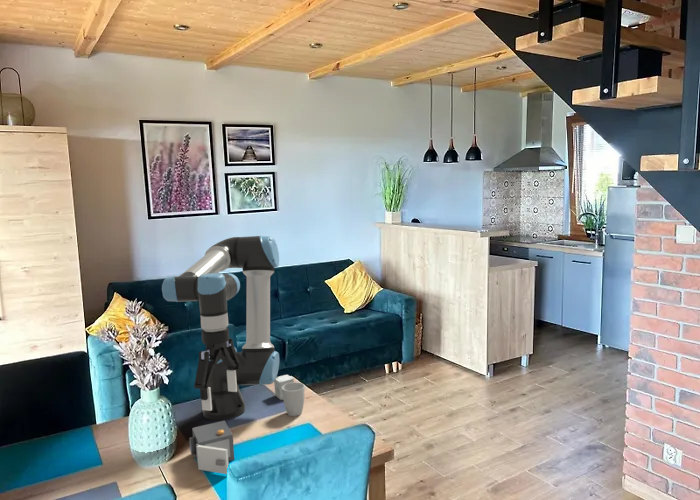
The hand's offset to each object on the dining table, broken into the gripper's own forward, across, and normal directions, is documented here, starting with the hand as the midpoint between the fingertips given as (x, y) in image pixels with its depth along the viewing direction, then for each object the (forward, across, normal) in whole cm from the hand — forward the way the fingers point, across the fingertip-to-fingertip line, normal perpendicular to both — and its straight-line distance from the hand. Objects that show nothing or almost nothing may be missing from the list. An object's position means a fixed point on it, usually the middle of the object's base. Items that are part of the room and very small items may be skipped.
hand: (220, 400), depth 150 cm
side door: (+20, +4, -2) cm, 20 cm away
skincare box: (+21, -52, -6) cm, 57 cm away
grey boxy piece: (+21, -5, -7) cm, 22 cm away
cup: (+21, -39, +5) cm, 44 cm away
